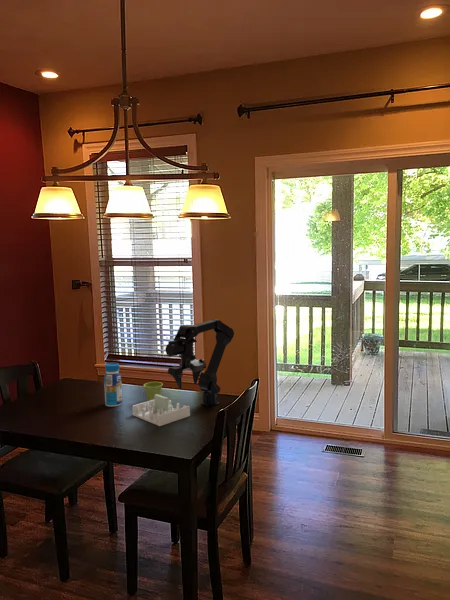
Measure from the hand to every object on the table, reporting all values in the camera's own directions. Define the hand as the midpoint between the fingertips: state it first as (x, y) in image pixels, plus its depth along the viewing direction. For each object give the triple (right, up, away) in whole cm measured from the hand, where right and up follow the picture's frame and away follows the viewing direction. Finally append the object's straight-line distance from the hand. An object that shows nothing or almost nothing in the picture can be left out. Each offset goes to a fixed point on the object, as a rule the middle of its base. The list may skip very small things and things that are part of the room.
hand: (187, 386), depth 220 cm
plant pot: (-18, -11, +17) cm, 27 cm away
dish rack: (-12, -13, -4) cm, 18 cm away
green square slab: (-12, -12, -4) cm, 17 cm away
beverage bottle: (-37, -11, +13) cm, 41 cm away
